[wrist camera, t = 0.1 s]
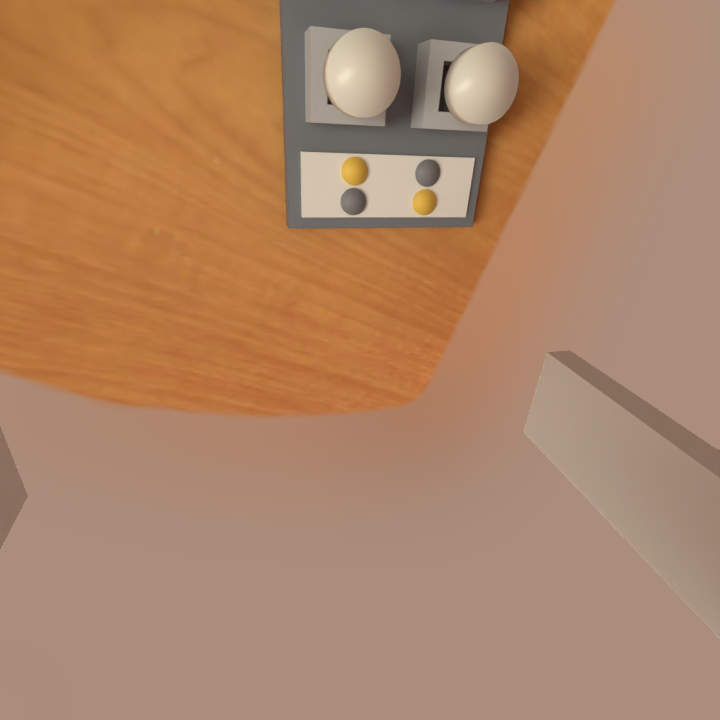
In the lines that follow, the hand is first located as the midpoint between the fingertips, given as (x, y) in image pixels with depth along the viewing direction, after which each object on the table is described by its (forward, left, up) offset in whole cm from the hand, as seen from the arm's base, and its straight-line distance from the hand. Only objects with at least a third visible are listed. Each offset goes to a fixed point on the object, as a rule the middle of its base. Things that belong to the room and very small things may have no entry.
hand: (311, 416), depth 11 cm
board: (-10, +11, -28) cm, 32 cm away
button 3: (-9, +7, -24) cm, 27 cm away
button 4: (-9, +15, -24) cm, 30 cm away
